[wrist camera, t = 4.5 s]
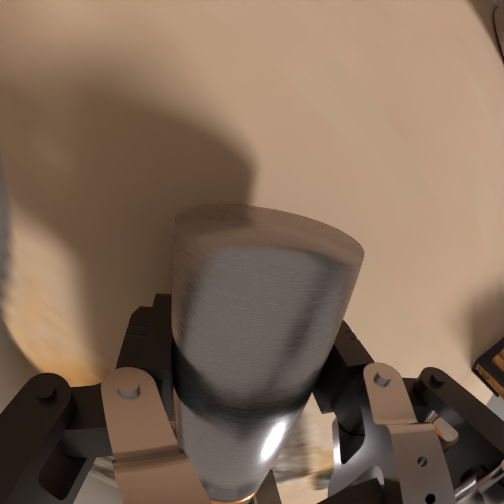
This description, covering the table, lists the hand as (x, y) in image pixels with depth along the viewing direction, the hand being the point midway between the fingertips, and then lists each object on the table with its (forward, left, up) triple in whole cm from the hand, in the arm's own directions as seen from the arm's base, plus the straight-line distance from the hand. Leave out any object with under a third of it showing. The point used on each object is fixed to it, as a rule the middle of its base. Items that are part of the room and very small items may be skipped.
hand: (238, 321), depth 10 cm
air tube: (+6, 0, -1) cm, 6 cm away
